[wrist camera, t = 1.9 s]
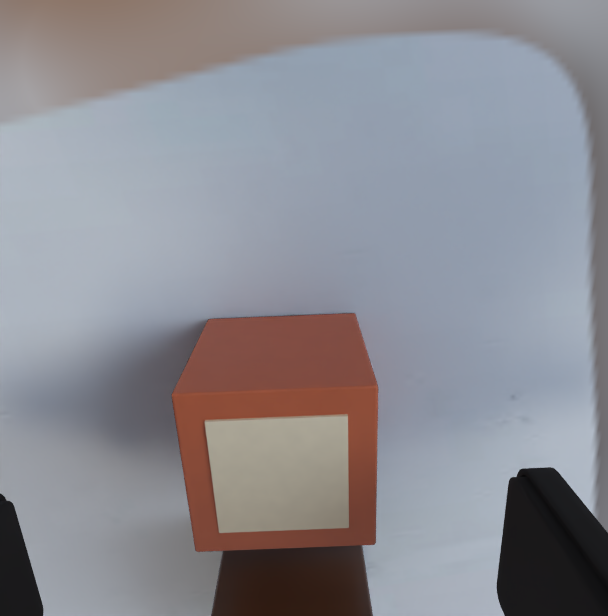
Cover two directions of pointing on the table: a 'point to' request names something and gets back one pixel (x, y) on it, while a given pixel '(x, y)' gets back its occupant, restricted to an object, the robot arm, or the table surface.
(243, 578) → the brown wooden cube
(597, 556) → the robot arm
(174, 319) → the table surface
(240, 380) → the orange cube
